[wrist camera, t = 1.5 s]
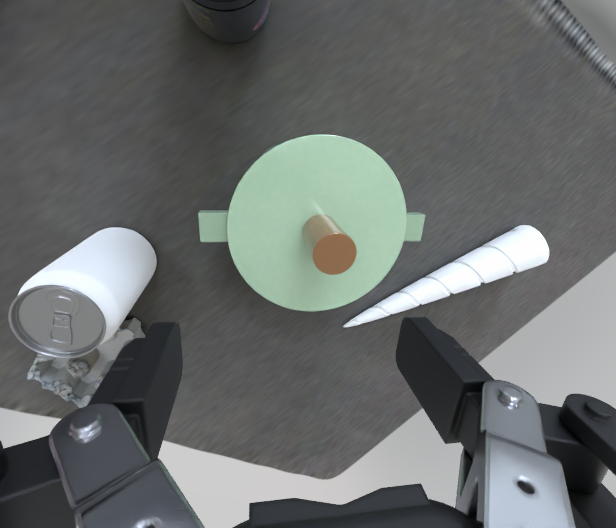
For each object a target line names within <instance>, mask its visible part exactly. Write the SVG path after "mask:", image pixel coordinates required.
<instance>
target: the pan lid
mask: <svg viewBox="0 0 616 528" xmlns="http://www.w3.org/2000/svg"><path fill="white" fill-rule="evenodd" d="M406 222H407V220H406V205H405V199H404V195H403V192H402V189H401V186H400V184H399V182H398V180H397V177H396V176H395V174H394V173H393V171H392V170H391V168H390V167H389V166H388V165H387V163H386V162H385V161H384V160H383V159H382V158H381V157H380V156H379V155H378V154H376V153H375V152H374V151H373V150H371V149H369V148H368V147H366V146H365V145H363V144H361V143H359V142H356V141H354V140H352V139H348V138H345V137H341V136H335V135H327V134H320V135H308V136H301V137H297V138H294V139H291V140H288V141H286V142H283V143H281V144H279V145H277V146H275V147H274V148H272V149H271V150H269V151H268V152H266V153H264V154H263V155H262V156H261V157H260V158H259V159H258V160H256V161H255V162H254V163H253V164H252V166H251V167H250V168H249V169H248V170H247V171H246V173H245V174H244V176H243V177H242V179H241V180H240V182H239V183H238V185H237V188H236V190H235V192H234V194H233V197H232V200H231V203H230V206H229V212H228V218H227V238H228V245H229V249H230V253H231V256H232V258H233V261H234V263H235V266H236V267H237V269H238V271H239V272H240V274H241V276H242V277H243V278H244V279H245V281H246V282H247V283H248V284H249V285H250V286H251V287H252V288H253V289H254V290H255V291H256V292H257V293H259V294H260V295H261V296H263V297H264V298H266V299H267V300H269V301H271V302H273V303H275V304H278V305H280V306H283V307H286V308H290V309H293V310H300V311H323V310H329V309H334V308H338V307H341V306H343V305H346V304H349V303H351V302H353V301H355V300H357V299H358V298H360V297H362V296H363V295H365V294H366V293H368V292H369V291H370V290H372V289H373V288H374V287H375V286H376V285H377V284H378V283H379V282H380V281H381V280H382V279H383V278H384V277H385V275H386V274H387V273H388V272H389V270H390V269H391V267H392V266H393V264H394V263H395V261H396V259H397V257H398V255H399V252H400V250H401V247H402V244H403V240H404V236H405V231H406Z"/></svg>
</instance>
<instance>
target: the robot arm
mask: <svg viewBox="0 0 616 528" xmlns="http://www.w3.org/2000/svg"><path fill="white" fill-rule="evenodd" d="M396 362H397V366H398V368H399V370H400V372H401V373H402V375H403V377H404V378H405V380H406V381H407V383H408V385H409V386H410V388H411V389H412V391H413V393H414V394H415V396H416V397H417V399H418V401H419V402H420V404H421V405H422V407H423V409H424V410H425V412H426V413H427V415H428V417H429V418H430V420H431V421H432V423H433V425H434V426H435V428H436V430H437V431H438V433H439V434H440V436H441V437H442V439H443V441H444V442H445V444H447V443H459V442H461V444H462V445H463V446H464V448H463V451H462V454H461V461H460V470H459V479H458V489H457V498H456V506H455V508H454V507H451V506H449V505H446V504H444V503H441V502H438V501H434V500H430V499H428V498H427V495H426V494H425V491H424V489H423V487H422V485H421V484H413V485H405V486H395V487H387V488H380V489H378V490H376V491H374V492H372V493H369V494H367V495H365V496H362V497H360V498H358V499H355V500H353V501H351V502H349V503H347V504H343V505H336V504H330V503H323V502H317V501H310V500H304V499H298V498H291V499H282V500H274V501H264V502H256V503H250V505H249V506H250V507H249V510H250V511H249V520H247V521H245V522H243V523H240V524H238V525H237V526H235V527H233V528H616V498H615V497H614V496H613V495H612V494H611V493H610V491H608V489H607V488H606V487H605V486H604V485H603V484H602V483H601V482H602V480H603V478H604V476H605V475H606V473H607V471H608V469H610V470H611V471H612V472H613V473H614V474H615V475H616V409H615V408H613V407H612V406H610V405H609V404H607V403H605V402H603V401H601V400H598V399H596V398H593V397H590V396H587V395H583V394H571V395H568V396H567V397H566V399H565V401H564V404H563V406H562V407H557V406H552V405H546V404H541V403H537V401H536V400H535V399H534V397H533V396H531V395H530V394H529V393H528V392H527V391H525V390H524V389H522V388H520V387H519V386H517V385H514V384H512V383H509V382H506V381H501V380H494V379H493V378H492V377H491V376H490V375H489V374H488V373H487V372H486V371H485V370H484V369H483V368H482V367H481V366H480V365H479V364H478V363H477V362H476V360H475V359H474V358H473V357H472V356H469V353H468V352H467V351H466V350H465V349H464V348H461V345H460V344H459V343H458V342H457V341H456V340H455V339H454V338H453V337H451V336H450V335H448V334H446V333H445V332H443V331H441V330H440V329H437V328H436V327H435V326H434V325H433V324H432V323H431V322H430V321H429V320H428V319H427V318H426V317H405V318H404V319H403V320H402V324H401V329H400V334H399V339H398V344H397V349H396ZM182 367H183V360H182V348H181V337H180V326H179V323H178V322H154V323H153V324H152V326H151V328H150V330H149V332H148V333H147V335H146V337H145V338H135V339H133V340H132V341H131V342H129V343H128V344H127V345H126V346H124V347H123V348H122V349H121V351H120V353H119V354H118V356H117V358H116V359H115V361H114V362H113V364H112V366H111V367H110V370H109V371H108V372H107V374H106V375H105V377H104V379H103V380H102V382H101V383H100V385H99V387H98V388H97V390H96V391H95V393H94V395H93V396H92V398H91V400H90V401H89V403H88V404H87V406H85V407H82V408H80V409H78V410H76V411H74V412H72V413H70V414H68V415H67V416H66V417H64V418H63V419H62V420H60V421H59V422H58V423H57V424H56V426H55V427H54V428H53V430H52V431H51V433H50V435H48V436H45V437H42V438H39V439H36V440H32V441H29V442H25V443H22V444H18V445H15V446H12V447H8V448H5V449H3V446H2V443H1V441H0V528H205V527H204V526H203V524H202V522H201V521H200V519H199V518H198V516H197V515H196V513H195V512H194V510H193V509H192V507H191V506H190V504H189V502H188V501H187V500H186V498H185V496H184V495H183V493H182V492H181V490H180V489H179V487H178V486H177V484H176V482H175V481H174V480H173V478H172V477H171V475H170V473H169V472H168V470H167V469H166V467H165V466H164V464H163V463H162V461H161V460H159V459H158V454H159V451H160V448H161V444H162V441H163V438H164V434H165V431H166V428H167V424H168V421H169V417H170V414H171V411H172V407H173V404H174V401H175V397H176V394H177V391H178V387H179V384H180V381H181V376H182Z"/></svg>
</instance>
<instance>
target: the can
mask: <svg viewBox="0 0 616 528" xmlns="http://www.w3.org/2000/svg"><path fill="white" fill-rule="evenodd" d="M156 265H157V259H156V254H155V251H154V249H153V247H152V246H151V244H150V243H149V242H148V241H147V240H146V239H145V238H144V237H143V236H142V235H140V234H139V233H137V232H135V231H133V230H130V229H126V228H118V227H112V228H106V229H103V230H100V231H98V232H97V233H95V234H93V235H92V236H90V237H89V238H87V239H86V240H84V241H83V242H81V243H80V244H78V245H77V246H76V247H74V248H73V249H71V250H70V251H68V252H67V253H65V254H64V255H62V256H61V257H60V258H58V259H57V260H55V261H54V262H52V263H51V264H49V265H48V266H47V267H45V268H44V269H42V270H41V271H40V272H38V273H37V274H35V275H34V276H33V277H31V278H30V279H29V280H28V281H27V282H26V283H25V284H24V285H23V286H22V288H21V289H20V291H19V294H18V296H17V297H16V298H15V299H14V301H13V302H12V304H11V306H10V309H9V314H8V319H9V324H10V327H11V329H12V331H13V333H14V335H15V336H16V337H17V338H18V340H19V341H20V342H22V343H23V344H24V345H25V346H26V347H28V348H29V349H31V350H33V351H35V352H37V353H39V354H42V355H45V356H48V357H53V358H62V359H67V358H76V357H80V356H83V355H86V354H88V353H90V352H92V351H93V350H94V349H96V348H97V347H98V346H99V345H100V344H102V343H104V342H105V341H107V340H108V339H109V338H110V337H111V336H112V335H113V334H114V333H115V332H116V331H117V329H118V328H119V326H120V325H121V323H122V322H123V321H124V319H125V318H126V316H127V314H128V313H129V311H130V310H131V308H132V307H133V305H134V304H135V302H136V301H137V299H138V298H139V296H140V295H141V293H142V292H143V290H144V288H145V287H146V285H147V284H148V282H149V281H150V279H151V277H152V276H153V274H154V272H155V269H156Z"/></svg>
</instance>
